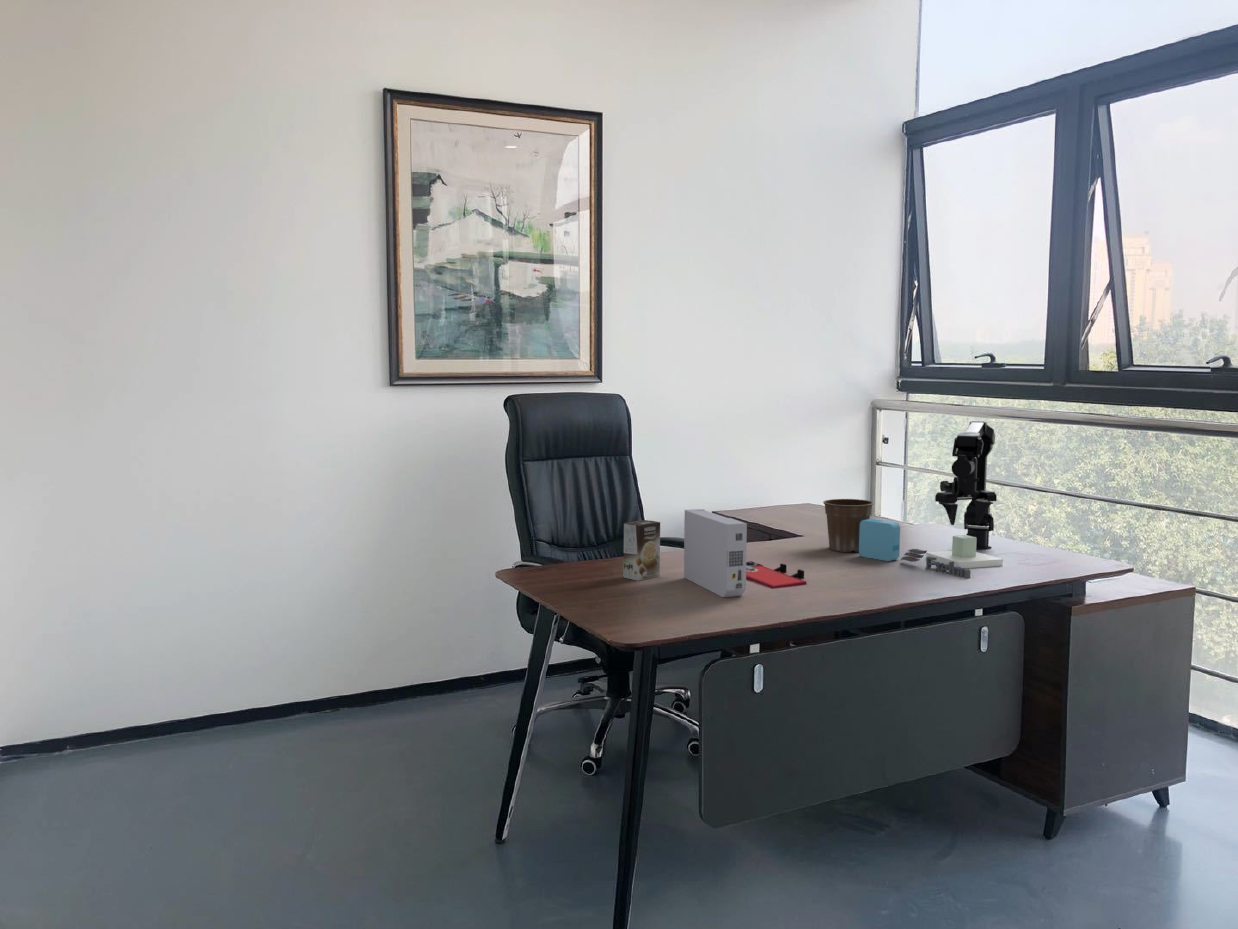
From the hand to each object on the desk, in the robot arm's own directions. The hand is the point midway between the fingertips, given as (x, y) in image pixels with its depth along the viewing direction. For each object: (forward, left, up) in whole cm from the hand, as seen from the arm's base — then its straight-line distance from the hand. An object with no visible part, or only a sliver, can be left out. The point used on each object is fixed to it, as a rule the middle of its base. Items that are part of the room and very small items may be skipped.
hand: (964, 524), depth 288 cm
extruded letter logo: (+16, +8, -12) cm, 22 cm away
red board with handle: (+68, -1, -13) cm, 69 cm away
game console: (+88, +9, -12) cm, 89 cm away
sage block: (0, 0, -10) cm, 10 cm away
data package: (+22, -13, -12) cm, 28 cm away
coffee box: (+103, -9, -12) cm, 104 cm away
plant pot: (+24, -29, -12) cm, 39 cm away
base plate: (0, 0, -12) cm, 12 cm away
